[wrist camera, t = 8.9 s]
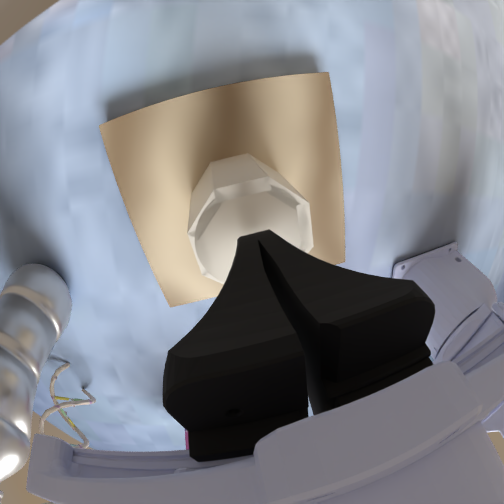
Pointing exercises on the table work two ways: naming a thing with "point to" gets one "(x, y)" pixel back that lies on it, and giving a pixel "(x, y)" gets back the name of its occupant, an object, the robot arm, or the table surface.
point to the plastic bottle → (26, 353)
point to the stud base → (220, 147)
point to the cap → (243, 211)
